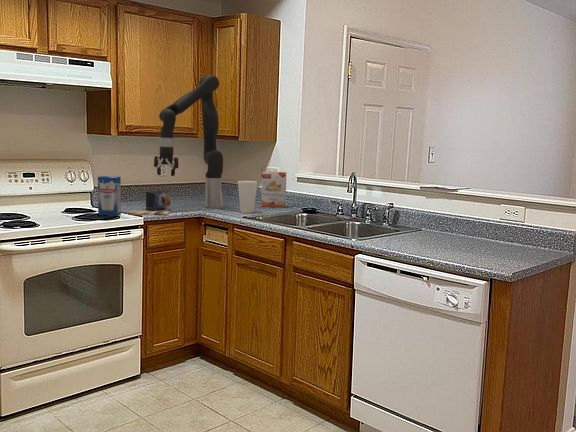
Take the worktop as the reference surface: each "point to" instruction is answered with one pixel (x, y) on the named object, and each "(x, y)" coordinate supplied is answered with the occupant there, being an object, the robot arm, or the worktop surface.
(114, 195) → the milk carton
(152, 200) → the small box
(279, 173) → the cracker box
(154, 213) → the panel
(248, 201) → the cup
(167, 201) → the awl
